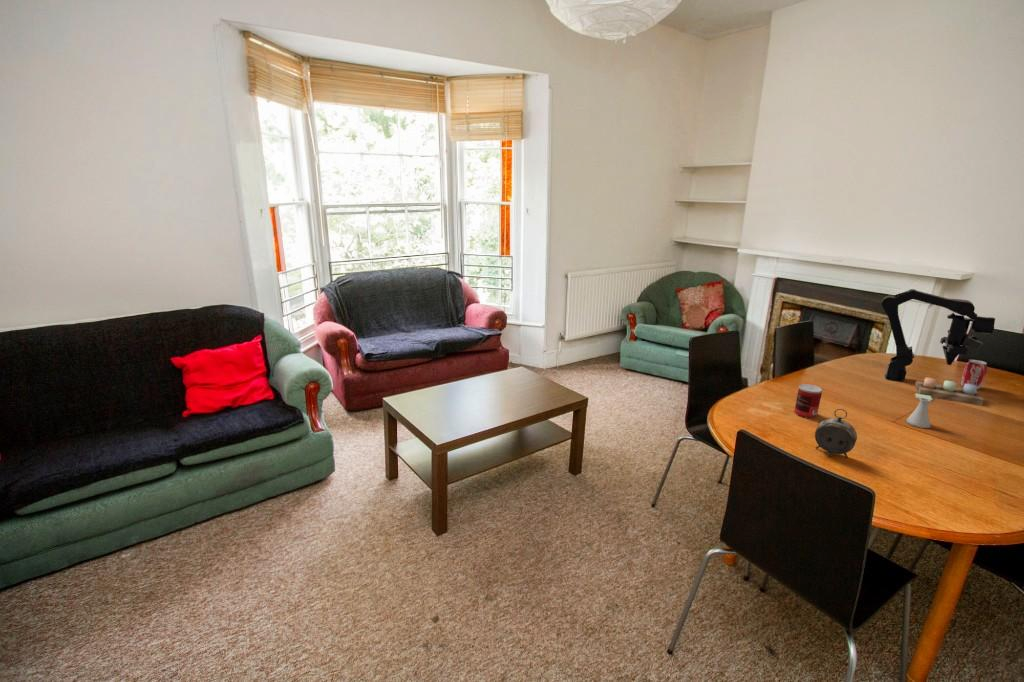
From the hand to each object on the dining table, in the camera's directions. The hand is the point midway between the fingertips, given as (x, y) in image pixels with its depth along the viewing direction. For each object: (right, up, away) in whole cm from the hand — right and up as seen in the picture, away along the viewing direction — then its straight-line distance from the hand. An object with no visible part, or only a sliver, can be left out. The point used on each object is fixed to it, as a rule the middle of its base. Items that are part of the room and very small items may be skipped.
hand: (948, 364), depth 212 cm
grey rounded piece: (0, -12, -9) cm, 15 cm away
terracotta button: (-11, -10, -2) cm, 15 cm away
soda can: (+13, -11, +4) cm, 18 cm away
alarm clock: (-87, -27, -54) cm, 106 cm away
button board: (-5, -13, -5) cm, 15 cm away
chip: (-18, -14, -8) cm, 24 cm away
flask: (-40, -21, -32) cm, 55 cm away
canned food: (-77, -18, -25) cm, 83 cm away
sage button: (-5, -11, -6) cm, 14 cm away
